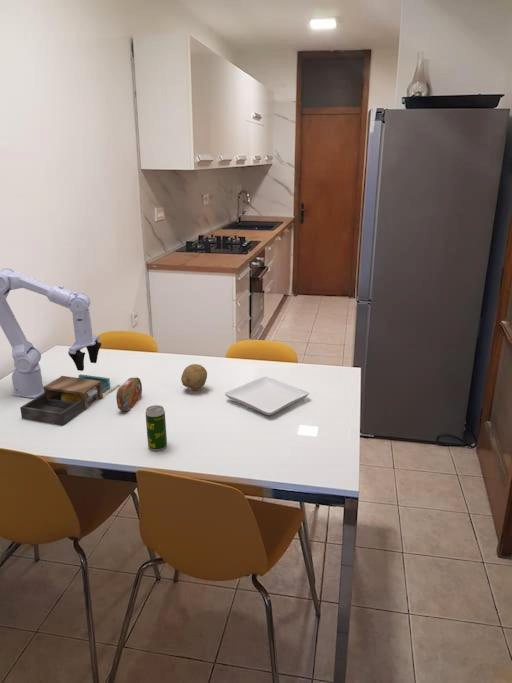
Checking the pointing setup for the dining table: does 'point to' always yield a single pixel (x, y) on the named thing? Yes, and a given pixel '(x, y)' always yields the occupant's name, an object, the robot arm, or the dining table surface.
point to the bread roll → (71, 397)
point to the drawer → (105, 386)
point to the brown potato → (194, 377)
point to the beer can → (156, 428)
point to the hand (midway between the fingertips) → (87, 366)
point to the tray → (60, 415)
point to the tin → (129, 394)
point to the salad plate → (266, 395)
